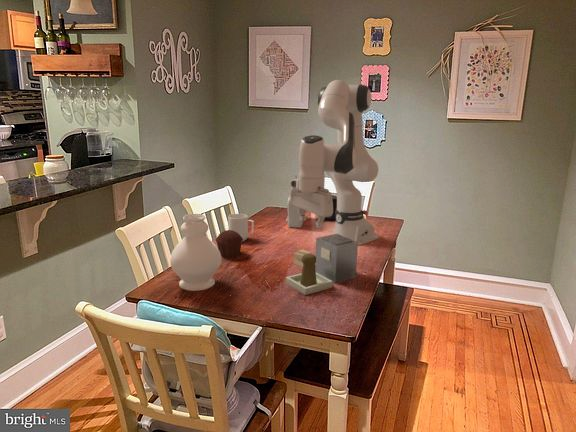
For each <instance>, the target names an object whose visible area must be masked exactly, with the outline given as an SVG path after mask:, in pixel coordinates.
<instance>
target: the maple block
mask: <svg viewBox="0 0 576 432" xmlns="http://www.w3.org/2000/svg"><path fill="white" fill-rule="evenodd" d="M304 254H312V252H311V251H307V250H305V249H304V250H303V249H300V250H297V251H294V252H293V260H292V261H293V264H292V265H294V266H297V267H301V268H303V263H302V256H303V255H304Z"/></svg>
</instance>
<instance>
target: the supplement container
mask: <svg viewBox="0 0 576 432" xmlns="http://www.w3.org/2000/svg"><path fill="white" fill-rule="evenodd" d="M331 196H332V201H333V214H332V216H330V217H325V219H324V221H326V222H336V217H335V216H336V209H337V195H333V194H331Z"/></svg>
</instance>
